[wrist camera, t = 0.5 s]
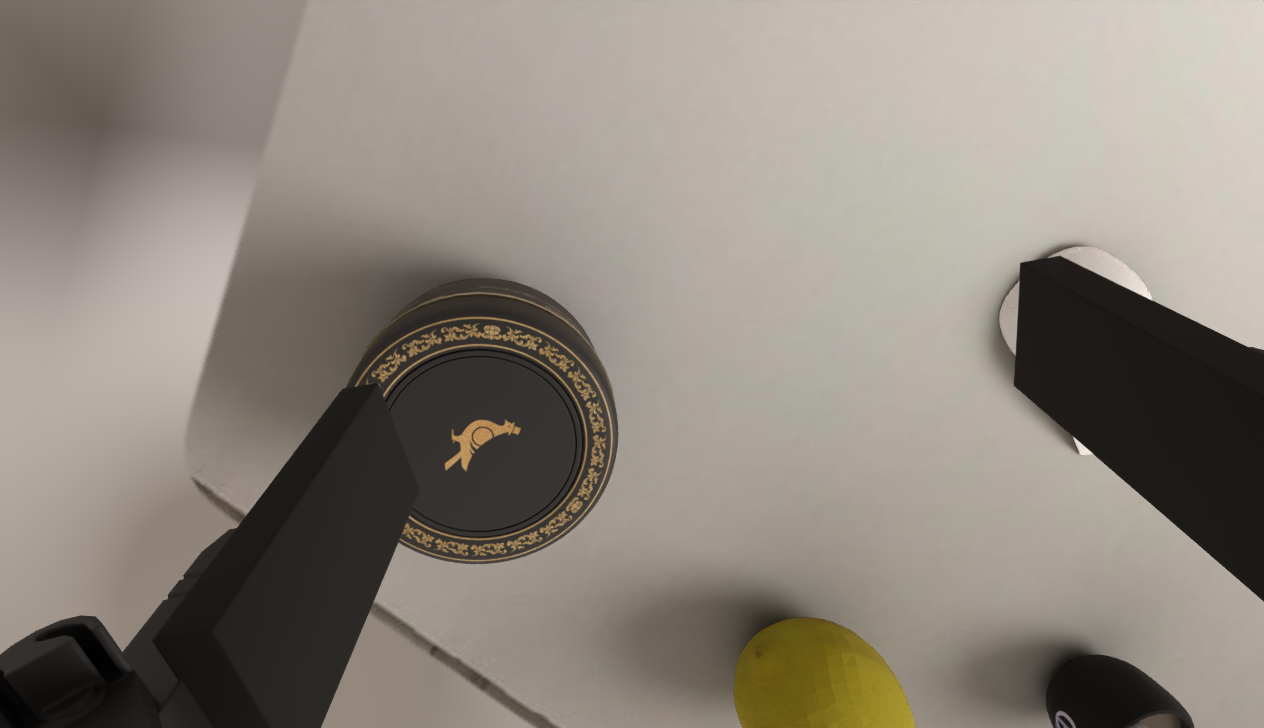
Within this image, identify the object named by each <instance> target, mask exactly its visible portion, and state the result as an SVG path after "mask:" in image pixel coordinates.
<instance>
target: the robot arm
mask: <svg viewBox="0 0 1264 728" xmlns="http://www.w3.org/2000/svg"><path fill="white" fill-rule="evenodd" d="M1014 386H1015V387H1016V388H1017V389H1019V390H1020V391H1021V392H1022V393H1023V394H1024V395H1026V396H1027V397H1028V398H1029V399H1030V400H1031V401H1033V402H1034V403H1035V404H1036V405H1037V406H1038V407H1039V408H1041V409H1042V410H1043V411H1044V412H1045V413H1046V414H1048V415H1049V416H1050V417H1051V418H1052V419H1053V420H1055V421H1056V422H1057V423H1058V424H1059V425H1060V426H1061V427H1063V428H1064V429H1065V430H1066V431H1067V432H1068V433H1070V434H1071V435H1072V436H1073V437H1074V438H1075V439H1076V440H1078V441H1079V442H1080V443H1081V444H1082V445H1083V446H1085V447H1086V448H1087V449H1088V450H1089V451H1090V452H1092V453H1093V454H1094V455H1095V456H1096V457H1097V458H1098V459H1100V460H1101V461H1102V462H1103V463H1104V464H1105V465H1107V466H1108V467H1109V468H1110V469H1111V470H1112V471H1114V472H1115V473H1116V474H1117V475H1118V476H1119V477H1120V478H1122V479H1123V480H1124V481H1125V482H1126V483H1127V484H1129V485H1130V486H1131V487H1132V488H1133V489H1134V490H1136V491H1137V492H1138V493H1139V494H1140V495H1141V496H1142V497H1144V498H1145V499H1146V500H1147V501H1148V502H1149V503H1151V504H1152V505H1153V506H1154V507H1155V508H1156V509H1157V510H1159V511H1160V512H1161V513H1162V514H1163V515H1164V516H1166V517H1167V518H1168V519H1169V520H1170V521H1171V522H1173V523H1174V524H1175V525H1176V526H1177V527H1178V528H1179V529H1181V530H1182V531H1183V532H1184V533H1185V534H1186V535H1188V536H1189V537H1190V538H1191V539H1192V540H1193V541H1195V542H1196V543H1197V544H1198V545H1199V546H1200V547H1201V548H1203V549H1204V550H1205V551H1206V552H1207V553H1208V554H1210V555H1211V556H1212V557H1213V558H1214V559H1215V560H1216V561H1218V562H1219V563H1220V564H1221V565H1222V566H1223V567H1225V568H1226V569H1227V570H1228V571H1229V572H1230V573H1232V574H1233V575H1234V576H1235V577H1236V578H1237V579H1238V580H1240V581H1241V582H1242V583H1243V584H1244V585H1245V586H1247V587H1248V588H1249V589H1250V590H1251V591H1252V592H1254V593H1255V594H1256V595H1257V596H1258V597H1259V598H1260V599H1262V600H1263V601H1264V350H1261V349H1257V348H1254V347H1247V346H1245V345H1242V344H1240V343H1238V342H1236V341H1234V340H1232V339H1230V338H1228V337H1226V336H1224V335H1222V334H1220V333H1218V332H1216V331H1214V330H1212V329H1210V328H1208V327H1206V326H1203V325H1201V324H1199V323H1197V322H1195V321H1193V320H1191V319H1189V318H1187V317H1185V316H1183V315H1181V314H1179V313H1177V312H1175V311H1173V310H1171V309H1169V308H1167V307H1164V306H1162V305H1160V304H1158V303H1156V302H1154V301H1152V300H1150V299H1148V298H1146V297H1144V296H1142V295H1140V294H1138V293H1136V292H1134V291H1132V290H1130V289H1128V288H1126V287H1123V286H1121V285H1119V284H1117V283H1115V282H1113V281H1111V280H1109V279H1107V278H1105V277H1103V276H1101V275H1099V274H1097V273H1095V272H1093V271H1091V270H1089V269H1087V268H1084V267H1082V266H1080V265H1078V264H1076V263H1074V262H1072V261H1070V260H1068V259H1066V258H1064V257H1062V256H1055V257H1050V258H1044V259H1039V260H1034V261H1028V262H1023V263H1020V282H1019V300H1018V319H1017V338H1016V356H1015V375H1014ZM419 492H420V489H419V486H418V484H417V481H416V479H415V476H414V474H413V471H412V468H411V466H410V463H409V461H408V458H407V456H406V453H405V450H404V448H403V445H402V443H401V440H400V438H399V435H398V432H397V430H396V427H395V425H394V422H393V420H392V417H391V414H390V412H389V409H388V407H387V404H386V402H385V399H384V396H383V394H382V391H381V389H380V386H379V384H378V382H377V383H372V384H367V385H361V386H356V387H350V388H345V389H342V390H341V392H340V393H339V394H338V396H337V397H336V398H335V399H334V401H333V402H332V403H331V405H330V406H329V407H328V409H327V410H326V411H325V413H324V414H323V415H322V417H321V418H320V419H319V421H318V422H317V423H316V425H315V426H314V427H313V428H312V430H311V431H310V432H309V434H308V435H307V436H306V438H305V439H304V440H303V442H302V443H301V444H300V446H299V447H298V448H297V450H296V451H295V452H294V454H293V455H292V456H291V458H290V459H289V460H288V461H287V463H286V464H285V465H284V467H283V468H282V469H281V471H280V472H279V473H278V475H277V476H276V477H275V479H274V480H273V481H272V483H271V484H270V485H269V487H268V488H267V489H266V490H265V492H264V493H263V494H262V496H261V497H260V498H259V500H258V501H257V502H256V504H255V505H254V506H253V508H252V509H251V510H250V512H249V513H248V514H247V516H246V517H245V518H244V519H243V521H242V522H241V523H240V525H239V526H238V527H237V528H235V529H230V530H228V531H227V532H226V533H225V534H223V535H222V536H221V537H220V538H219V539H217V540H216V541H215V542H214V543H212V544H211V545H210V546H209V547H207V548H206V549H205V550H204V551H202V552H201V554H200V555H199V556H198V558H197V559H196V560H195V561H194V563H193V564H192V565H191V566H190V568H189V569H188V570H187V571H186V573H185V574H184V579H183V580H179V582H178V583H177V584H176V585H175V587H174V588H173V589H172V591H171V592H170V593H169V594H168V599H167V600H164V601H163V602H162V603H161V604H160V605H159V607H158V608H157V609H156V611H155V612H154V613H153V614H152V616H151V617H150V618H149V619H148V621H147V622H146V623H145V624H144V626H143V627H142V628H141V630H140V631H139V632H138V633H137V635H136V636H135V637H134V638H133V640H132V641H131V642H130V643H129V645H128V646H127V647H126V649H125V650H124V651H123V652H122V651H121V650H120V648H119V647H118V646H117V644H116V643H115V641H114V640H113V638H112V637H111V635H110V634H109V633H108V631H107V630H106V628H105V627H104V626H103V624H102V623H101V622H100V621H99V620H98V619H97V618H96V617H93V616H77V617H73V618H69V619H65V620H61V621H58V622H56V623H53V624H51V625H49V626H47V627H45V628H42V629H40V630H37V631H35V632H34V633H32V634H30V635H29V636H27V637H25V638H24V639H22V640H20V641H19V642H17V643H15V644H14V645H12V646H11V647H9V648H8V649H7V650H6V651H4V652H3V653H2V654H1V655H0V728H321V726H322V723H323V721H324V719H325V716H326V714H327V712H328V709H329V707H330V704H331V702H332V700H333V697H334V694H335V692H336V690H337V688H338V685H339V683H340V680H341V678H342V676H343V673H344V671H345V669H346V666H347V664H348V661H349V659H350V657H351V654H352V652H353V649H354V647H355V645H356V642H357V640H358V637H359V635H360V633H361V630H362V628H363V625H364V623H365V621H366V618H367V616H368V614H369V611H370V609H371V606H372V604H373V602H374V599H375V597H376V594H377V592H378V590H379V587H380V585H381V582H382V580H383V578H384V575H385V573H386V570H387V568H388V566H389V563H390V561H391V559H392V556H393V554H394V551H395V549H396V547H397V544H398V542H399V539H400V537H401V535H402V532H403V530H404V527H405V525H406V523H407V520H408V518H409V515H410V513H411V511H412V508H413V506H414V504H415V501H416V499H417V496H418V494H419Z"/></svg>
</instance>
